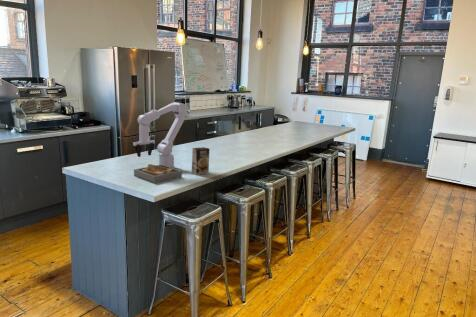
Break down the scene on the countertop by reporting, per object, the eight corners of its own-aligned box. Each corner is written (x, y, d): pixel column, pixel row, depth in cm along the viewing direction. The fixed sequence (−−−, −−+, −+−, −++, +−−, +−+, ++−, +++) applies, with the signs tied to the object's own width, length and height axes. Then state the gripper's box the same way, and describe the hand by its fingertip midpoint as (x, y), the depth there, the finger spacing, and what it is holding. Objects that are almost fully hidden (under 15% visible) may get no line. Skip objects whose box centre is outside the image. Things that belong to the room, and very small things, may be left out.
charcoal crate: (161, 170, 231) (161, 164, 230) (181, 177, 218) (181, 170, 217) (134, 175, 216) (133, 169, 215) (153, 183, 203) (153, 176, 202)
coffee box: (196, 175, 224) (197, 149, 220) (191, 172, 229) (191, 147, 225) (209, 173, 229) (209, 148, 225) (203, 171, 234) (204, 146, 230)
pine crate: (156, 171, 226) (156, 162, 224) (172, 174, 220) (172, 165, 218) (141, 175, 214) (141, 166, 213) (158, 179, 208) (158, 170, 207)
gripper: (150, 132, 232) (150, 153, 235) (130, 134, 222) (130, 156, 225) (156, 134, 228) (156, 155, 231) (136, 136, 217) (137, 158, 220)
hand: (144, 155), depth 227 cm, fingers open, 7 cm apart
